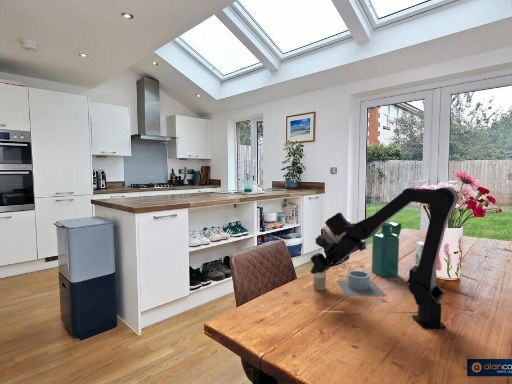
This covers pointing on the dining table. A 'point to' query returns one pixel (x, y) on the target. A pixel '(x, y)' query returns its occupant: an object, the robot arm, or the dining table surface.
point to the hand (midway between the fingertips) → (316, 270)
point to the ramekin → (358, 280)
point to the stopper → (320, 281)
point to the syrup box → (419, 251)
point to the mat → (372, 290)
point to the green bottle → (386, 250)
